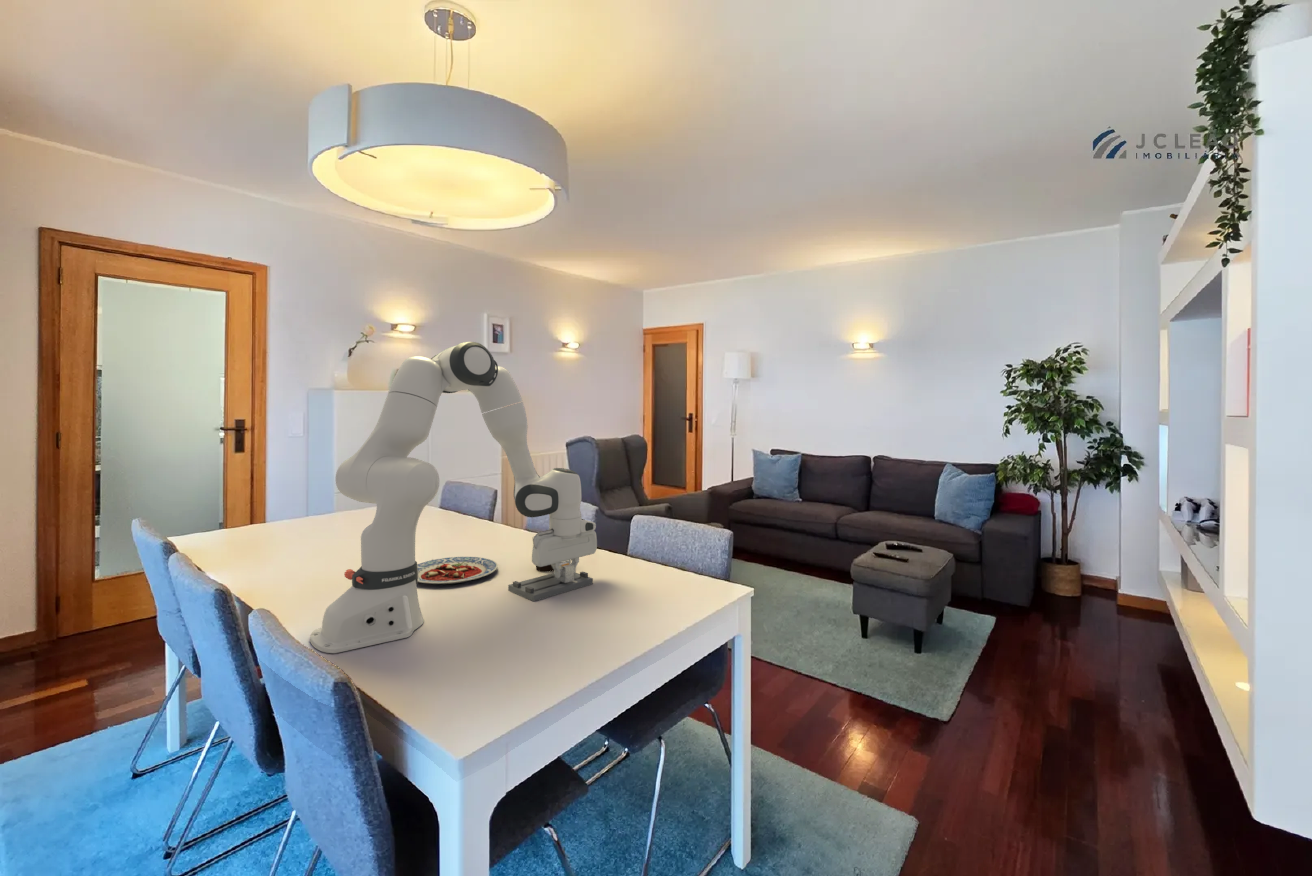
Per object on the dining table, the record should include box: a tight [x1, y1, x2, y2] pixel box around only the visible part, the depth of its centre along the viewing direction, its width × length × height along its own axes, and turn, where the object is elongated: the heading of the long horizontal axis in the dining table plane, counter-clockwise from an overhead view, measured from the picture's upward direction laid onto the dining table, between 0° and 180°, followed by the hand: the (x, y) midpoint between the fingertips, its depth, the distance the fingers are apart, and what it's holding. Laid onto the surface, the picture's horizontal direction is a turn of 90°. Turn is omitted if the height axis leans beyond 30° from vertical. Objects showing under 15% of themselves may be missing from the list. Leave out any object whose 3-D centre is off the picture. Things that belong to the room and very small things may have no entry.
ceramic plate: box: [417, 556, 499, 585], centre depth 163 cm, size 26×26×3 cm
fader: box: [557, 562, 574, 583], centre depth 152 cm, size 3×4×5 cm
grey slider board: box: [507, 560, 594, 602], centre depth 153 cm, size 20×12×6 cm, turn 137°
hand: (565, 575), depth 152 cm, fingers closed on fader, 3 cm apart
